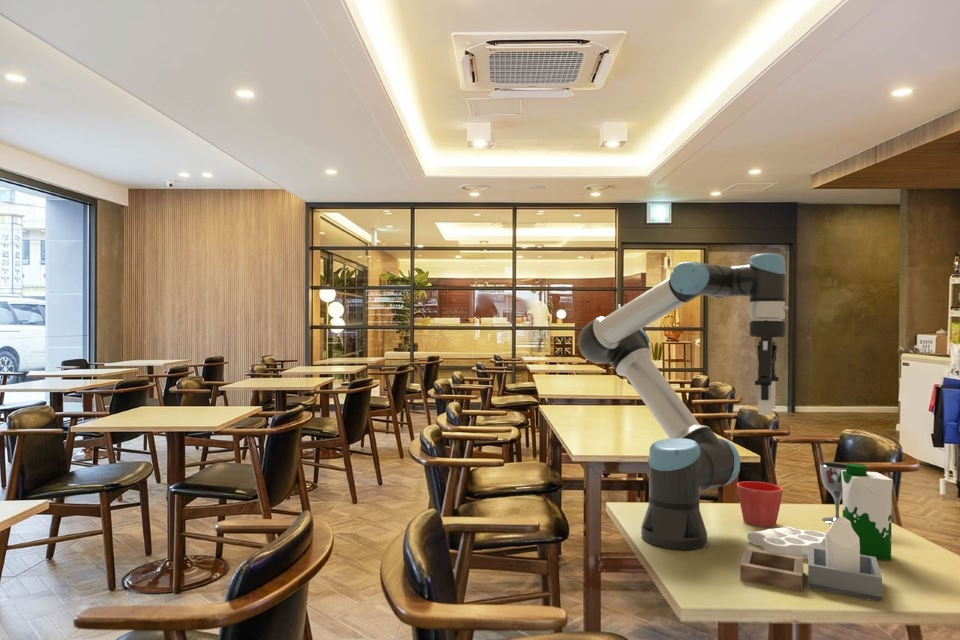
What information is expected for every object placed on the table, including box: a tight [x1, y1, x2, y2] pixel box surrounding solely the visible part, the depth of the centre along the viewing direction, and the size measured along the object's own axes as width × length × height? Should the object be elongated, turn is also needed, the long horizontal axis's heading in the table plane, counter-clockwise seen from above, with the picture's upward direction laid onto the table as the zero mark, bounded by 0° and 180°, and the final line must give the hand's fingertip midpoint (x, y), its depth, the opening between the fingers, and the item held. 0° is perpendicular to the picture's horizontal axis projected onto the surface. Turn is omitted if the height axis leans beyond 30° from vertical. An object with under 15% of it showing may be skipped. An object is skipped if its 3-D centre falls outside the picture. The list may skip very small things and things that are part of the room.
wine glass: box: [819, 461, 847, 525], centre depth 158 cm, size 8×8×15 cm
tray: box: [807, 546, 883, 602], centre depth 118 cm, size 12×12×4 cm
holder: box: [739, 547, 804, 593], centre depth 122 cm, size 11×11×3 cm
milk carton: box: [841, 462, 894, 562], centre depth 135 cm, size 9×9×20 cm
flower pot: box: [736, 480, 784, 528], centre depth 156 cm, size 11×11×10 cm
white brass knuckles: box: [746, 525, 826, 560], centre depth 138 cm, size 3×18×15 cm
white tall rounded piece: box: [825, 516, 860, 572], centre depth 119 cm, size 6×12×6 cm
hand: (767, 411), depth 138 cm, fingers open, 13 cm apart
